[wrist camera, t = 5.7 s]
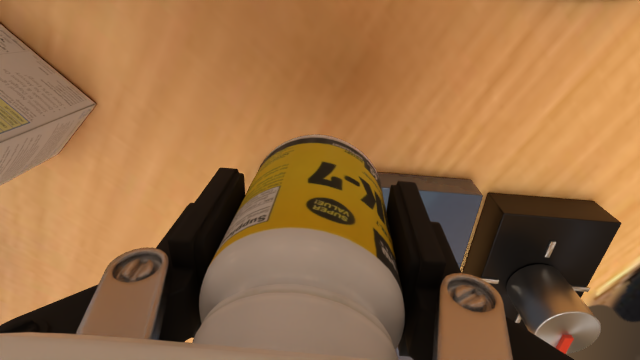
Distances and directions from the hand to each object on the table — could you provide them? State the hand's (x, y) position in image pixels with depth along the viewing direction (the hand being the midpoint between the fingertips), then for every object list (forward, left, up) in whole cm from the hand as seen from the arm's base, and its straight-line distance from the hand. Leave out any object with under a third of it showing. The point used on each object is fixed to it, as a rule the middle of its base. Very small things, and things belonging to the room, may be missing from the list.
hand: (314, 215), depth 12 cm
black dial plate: (+12, +17, -14) cm, 25 cm away
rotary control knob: (+12, +17, -11) cm, 23 cm away
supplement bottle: (0, 0, -2) cm, 2 cm away
